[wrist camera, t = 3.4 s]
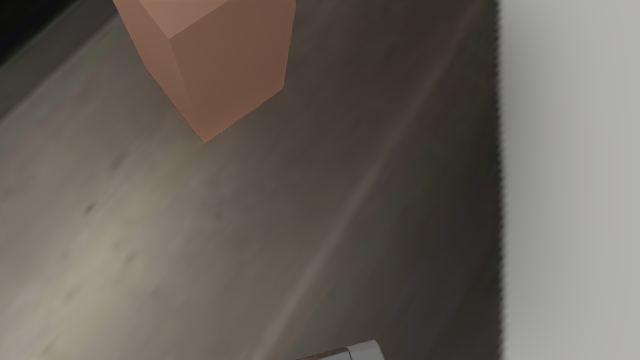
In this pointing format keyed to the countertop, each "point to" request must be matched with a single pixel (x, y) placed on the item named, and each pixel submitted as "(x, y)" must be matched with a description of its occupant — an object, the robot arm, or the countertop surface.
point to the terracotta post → (212, 54)
